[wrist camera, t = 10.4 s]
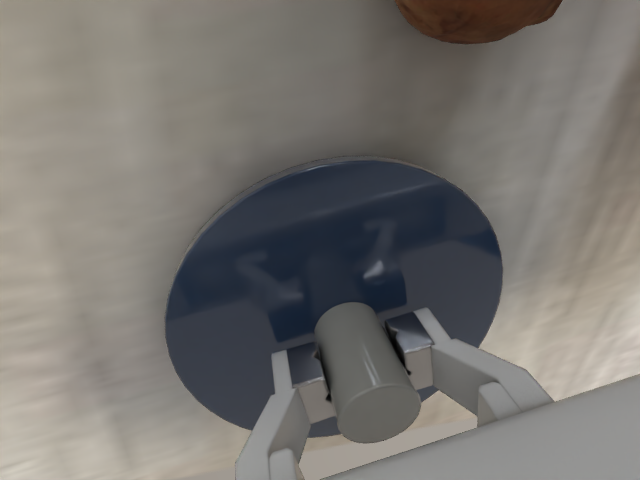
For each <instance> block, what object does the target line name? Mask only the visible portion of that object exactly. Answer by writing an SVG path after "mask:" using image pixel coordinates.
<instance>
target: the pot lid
mask: <svg viewBox="0 0 640 480" xmlns="http://www.w3.org/2000/svg"><path fill="white" fill-rule="evenodd" d="M502 280H503V266H502V258H501V251H500V248H499V244H498V241H497V238H496V235H495V233H494V231H493V229H492V227H491V225H490V223H489V221H488V219H487V217H486V216H485V215H484V213H483V212H482V211H481V209H480V208H479V207H478V205H477V204H476V203H475V202H474V201H473V200H472V199H471V198H470V197H469V196H468V195H467V194H465V193H464V192H463V191H462V190H461V189H459V188H458V187H456V186H455V185H453V184H452V183H450V182H449V181H447V180H446V179H444V178H443V177H441V176H440V175H438V174H436V173H434V172H432V171H429V170H427V169H425V168H423V167H420V166H418V165H415V164H412V163H408V162H404V161H401V160H397V159H392V158H384V157H375V156H342V157H335V158H328V159H322V160H316V161H312V162H309V163H305V164H302V165H298V166H295V167H291V168H289V169H286V170H284V171H282V172H279V173H277V174H275V175H272V176H270V177H268V178H265V179H263V180H262V181H260V182H258V183H257V184H255V185H253V186H251V187H250V188H248V189H246V190H245V191H243V192H241V193H240V194H239V195H237V196H236V197H235V198H234V199H232V200H231V201H230V202H228V203H227V204H226V205H225V206H223V207H222V208H221V209H220V210H219V211H218V212H217V213H216V214H215V215H214V216H213V217H212V218H211V219H210V220H209V221H208V222H207V223H206V224H205V225H204V226H203V227H202V228H201V230H200V231H199V232H198V234H197V235H196V236H195V238H194V239H193V241H192V242H191V243H190V245H189V246H188V247H187V249H186V251H185V253H184V255H183V257H182V259H181V261H180V263H179V265H178V267H177V269H176V272H175V275H174V278H173V281H172V284H171V287H170V291H169V294H168V299H167V305H166V312H165V338H166V343H167V348H168V352H169V356H170V359H171V361H172V363H173V366H174V368H175V371H176V373H177V375H178V376H179V378H180V379H181V381H182V382H183V384H184V386H185V387H186V388H187V390H188V391H189V392H190V393H191V394H192V395H193V396H194V397H195V398H196V400H197V401H199V402H200V403H201V404H202V405H203V406H205V407H206V408H207V409H208V410H210V411H211V412H213V413H214V414H216V415H217V416H219V417H221V418H222V419H224V420H226V421H228V422H230V423H232V424H235V425H237V426H239V427H242V428H245V429H248V430H251V431H252V430H253V429H254V427H255V425H256V423H257V421H258V419H259V417H260V415H261V413H262V412H263V410H264V408H265V406H266V404H267V402H268V400H269V398H270V396H271V395H274V394H275V386H274V377H273V368H272V359H271V357H272V353H276V352H280V351H283V350H287V349H289V348H293V347H296V346H300V345H304V344H307V343H311V342H316V346H317V349H318V352H319V356H320V360H321V363H322V368H323V372H324V375H325V379H326V383H327V386H328V390H329V395H330V399H331V402H332V406H333V410H334V414H335V416H333V417H330V418H327V419H324V420H321V421H319V422H316V423H313V424H310V425H311V427H310V431H309V434H308V437H307V438H313V437H325V436H333V435H339V434H342V435H343V436H344V437H346V438H347V439H349V440H351V441H354V442H357V443H374V442H380V441H384V440H387V439H389V438H392V437H394V436H396V435H398V434H399V433H401V432H403V431H404V430H405V429H407V428H408V427H409V426H410V425H411V424H412V423H413V422H414V420H415V419H416V417H417V416H418V414H419V411H420V407H421V402H423V401H424V400H426V399H427V398H429V397H430V396H431V395H433V394H434V393H435V392H437V391H438V389H437V388H435V387H434V385H432V386H429V387H425V388H422V389H418V390H416V388H415V386H414V384H413V382H412V381H411V379H410V377H409V375H408V373H407V371H406V369H405V367H404V365H403V363H402V361H401V359H400V357H399V355H398V354H397V352H396V350H395V348H394V346H393V344H392V342H391V340H390V338H389V336H388V333H387V331H386V329H385V324H384V322H385V320H387V319H390V318H393V317H397V316H400V315H403V314H406V313H409V312H413V311H416V310H419V309H422V308H425V307H427V308H428V309H429V310H430V311H431V312H432V314H433V315H434V317H435V318H436V319H437V321H438V322H439V323H440V325H441V326H442V327H443V329H444V330H445V332H446V333H447V334H448V336H449V337H450V338H451V339H455V338H456V339H458V340H460V341H463V342H465V343H467V344H469V345H472V346H474V347H476V348H479V346H480V344H481V343H482V341H483V340H484V338H485V336H486V335H487V333H488V330H489V328H490V326H491V324H492V322H493V320H494V317H495V314H496V311H497V308H498V305H499V301H500V296H501V290H502Z"/></svg>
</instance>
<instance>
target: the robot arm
mask: <svg viewBox="0 0 640 480" xmlns="http://www.w3.org/2000/svg"><path fill="white" fill-rule="evenodd" d="M384 324H385V329H386V331H387V333H388V336H389V338H390V340H391V342H392V344H393V346H394V348H395V350H396V352H397V354H398V355H399V357H400V359H401V361H402V363H403V365H404V367H405V369H406V371H407V373H408V375H409V377H410V379H411V381H412V382H413V384H414V386H415V388H416V390H418V389H422V388H425V387H429V386H432V385H434V387H435V388H437V389H438V390H440V391H441V392H443V393H444V394H446V395H447V396H449V397H450V398H452V399H453V400H454V401H456V402H457V403H459V404H460V405H462V406H463V407H465V408H466V409H468V410H469V411H471V412H472V413H473V414H475V415H476V416H478V424H477V428H474V429H472V430H469V431H465V432H462V433H459V434H457V435H454V436H450V437H447V438H444V439H441V440H438V441H435V442H432V443H430V444H426V445H423V446H420V447H417V448H414V449H411V450H408V451H405V452H402V453H399V454H396V455H393V456H390V457H387V458H384V459H381V460H378V461H375V462H372V463H369V464H366V465H363V466H360V467H357V468H354V469H350V470H347V471H345V472H341V473H338V474H335V475H332V476H329V477H326V478H323V479H320V480H640V374H638V375H635V376H632V377H629V378H626V379H623V380H619V381H616V382H613V383H610V384H607V385H604V386H601V387H598V388H595V389H592V390H589V391H586V392H583V393H580V394H577V395H574V396H571V397H568V398H565V399H562V400H559V401H556V402H554V400H553V399H552V398H551V397H550V396H549V395H548V394H547V393H546V391H545V390H544V389H543V388H542V387H541V386H540V385H539V383H538V382H537V381H536V380H535V379H534V378H533V377H532V376H531V374H530V373H529V372H528V371H527V370H526V369H524V368H521V367H519V366H517V365H515V364H512V363H510V362H508V361H505V360H503V359H501V358H499V357H496V356H494V355H492V354H490V353H487V352H485V351H483V350H481V349H478V348H476V347H474V346H472V345H469V344H467V343H465V342H463V341H460V340H458V339H456V338H455V339H451V338H450V337H449V336H448V334H447V333H446V332H445V330H444V329H443V327H442V326H441V325H440V323H439V322H438V321H437V319H436V318H435V317H434V315H433V314H432V312H431V311H430V310H429V309H428V308H427V307H425V308H422V309H419V310H416V311H413V312H409V313H406V314H403V315H400V316H397V317H393V318H390V319H387V320H385V322H384ZM271 359H272V368H273V377H274V386H275V394H274V395H271V396H270V398H269V400H268V402H267V404H266V406H265V408H264V410H263V412H262V413H261V415H260V417H259V419H258V421H257V423H256V425H255V427H254V429H253V430H252V432H251V434H250V436H249V438H248V440H247V442H246V444H245V446H244V447H243V449H242V451H241V453H240V455H239V457H238V459H237V461H236V462H235V480H304V477H303V475H302V472H301V470H300V468H299V465H298V464H299V461H300V459H301V455H302V452H303V449H304V446H305V443H306V440H307V437H308V434H309V431H310V427H311V425H310V424H313V423H316V422H319V421H321V420H324V419H327V418H330V417H333V416H335V414H334V410H333V406H332V402H331V399H330V395H329V390H328V386H327V383H326V379H325V375H324V372H323V368H322V363H321V360H320V356H319V352H318V349H317V346H316V342H311V343H307V344H304V345H300V346H296V347H293V348H289V349H287V350H283V351H280V352H276V353H272V357H271Z"/></svg>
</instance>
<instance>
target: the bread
mask: <svg viewBox="0 0 640 480" xmlns="http://www.w3.org/2000/svg"><path fill="white" fill-rule="evenodd" d="M562 1H563V0H395V2H396V4H397V6H398V8H399V10H400V12H401V13H402V15H403V16H404V17H405V19H406V20H407V21H408V22H409V23H410V24H411V25H412V26H414V27H415V28H416V29H417V30H419V31H420V32H421V33H423V34H425V35H427V36H430V37H432V38H435V39H438V40H440V41H444V42H450V43H458V44H478V43H487V42H493V41H498V40H501V39H503V38H504V37H506V36H508V35H511V34H513V33H515V32H517V31H519V30H521V29H522V28H524V27H526V26H530V25H535V24H539V23H541V22H544V21H547V20H548V19H549V18H550V17H552V16H553V15H554V13H555V12H556V10H557V8H558V7H559V5H560V4H561V2H562Z"/></svg>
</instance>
